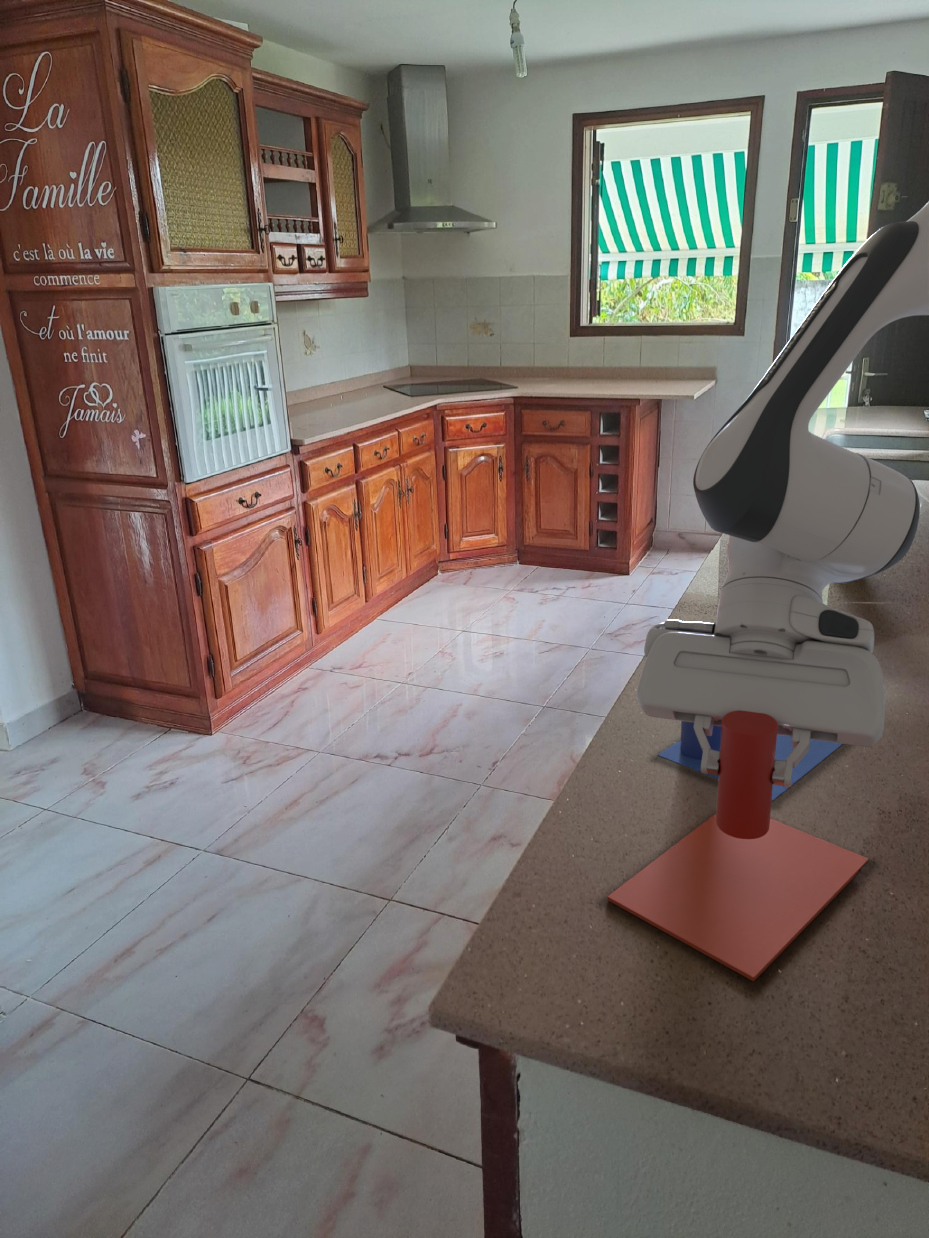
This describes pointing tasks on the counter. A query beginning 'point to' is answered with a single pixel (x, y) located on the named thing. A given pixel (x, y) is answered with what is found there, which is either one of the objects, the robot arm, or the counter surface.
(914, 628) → the counter surface
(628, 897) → the terracotta mat
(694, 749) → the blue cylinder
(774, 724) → the red cylinder
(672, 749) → the blue mat
